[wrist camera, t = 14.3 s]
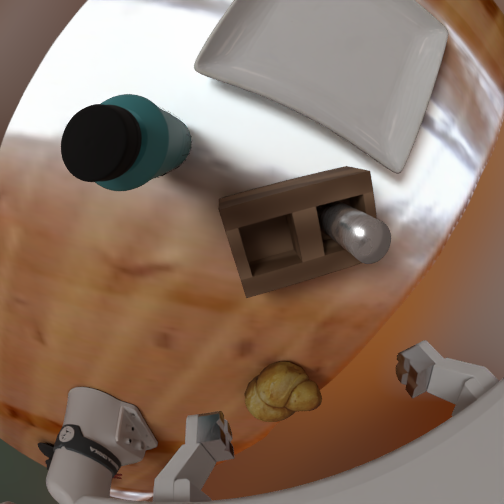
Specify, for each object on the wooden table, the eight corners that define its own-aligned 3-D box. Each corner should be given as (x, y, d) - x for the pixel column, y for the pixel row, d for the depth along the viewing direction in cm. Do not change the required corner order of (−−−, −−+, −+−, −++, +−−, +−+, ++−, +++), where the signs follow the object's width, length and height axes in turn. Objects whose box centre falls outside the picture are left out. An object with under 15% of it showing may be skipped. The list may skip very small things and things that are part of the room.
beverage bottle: (167, 105, 28) (94, 51, 9) (207, 143, 30) (184, 133, 11) (128, 146, 29) (19, 154, 10) (166, 183, 31) (95, 236, 12)
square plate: (436, 34, 26) (451, 29, 22) (385, 174, 33) (401, 177, 30) (283, -58, 19) (289, -71, 16) (192, 77, 27) (188, 68, 23)
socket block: (358, 240, 36) (379, 256, 30) (242, 274, 36) (246, 298, 30) (346, 166, 32) (370, 171, 27) (219, 198, 32) (218, 209, 27)
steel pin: (347, 227, 33) (391, 256, 24) (317, 235, 33) (354, 269, 23) (342, 195, 31) (389, 215, 22) (311, 203, 31) (350, 226, 22)
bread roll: (265, 409, 46) (271, 443, 39) (224, 390, 43) (226, 427, 36) (317, 370, 44) (332, 404, 36) (279, 345, 41) (290, 383, 33)
